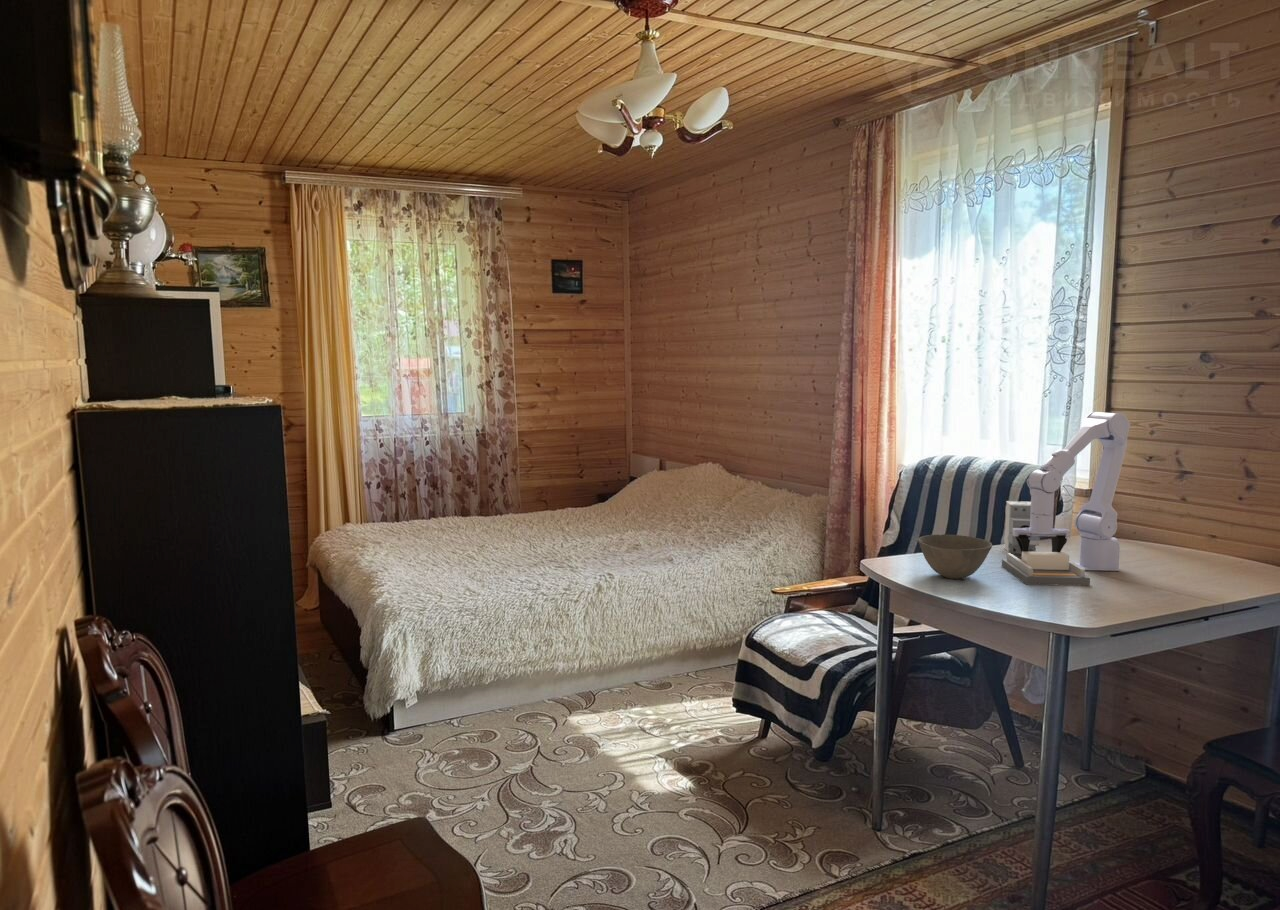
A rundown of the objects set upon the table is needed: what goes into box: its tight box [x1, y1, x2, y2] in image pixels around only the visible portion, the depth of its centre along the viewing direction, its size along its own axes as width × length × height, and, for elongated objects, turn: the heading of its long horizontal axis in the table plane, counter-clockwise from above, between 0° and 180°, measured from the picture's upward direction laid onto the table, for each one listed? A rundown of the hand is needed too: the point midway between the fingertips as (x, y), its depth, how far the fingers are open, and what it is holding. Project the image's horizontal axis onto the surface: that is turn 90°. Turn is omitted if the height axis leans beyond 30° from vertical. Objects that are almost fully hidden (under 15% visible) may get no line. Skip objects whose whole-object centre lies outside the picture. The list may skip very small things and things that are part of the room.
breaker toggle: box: [1021, 551, 1070, 570], centre depth 228 cm, size 11×4×4 cm, turn 84°
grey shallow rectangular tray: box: [1001, 552, 1091, 586], centre depth 229 cm, size 16×20×4 cm
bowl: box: [917, 533, 993, 580], centre depth 228 cm, size 19×19×10 cm
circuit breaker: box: [1003, 500, 1041, 555], centre depth 255 cm, size 8×14×15 cm, turn 166°
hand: (1039, 561), depth 232 cm, fingers open, 7 cm apart
